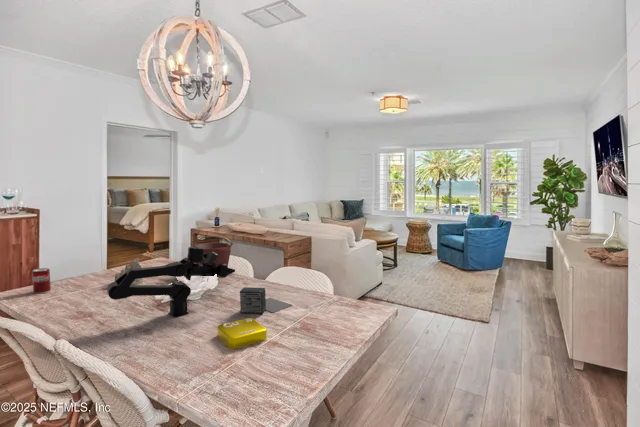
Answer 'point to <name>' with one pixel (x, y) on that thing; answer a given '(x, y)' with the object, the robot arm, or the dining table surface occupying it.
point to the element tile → (241, 333)
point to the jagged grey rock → (131, 266)
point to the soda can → (41, 280)
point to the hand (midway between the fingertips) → (230, 270)
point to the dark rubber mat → (275, 305)
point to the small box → (253, 300)
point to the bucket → (217, 249)
